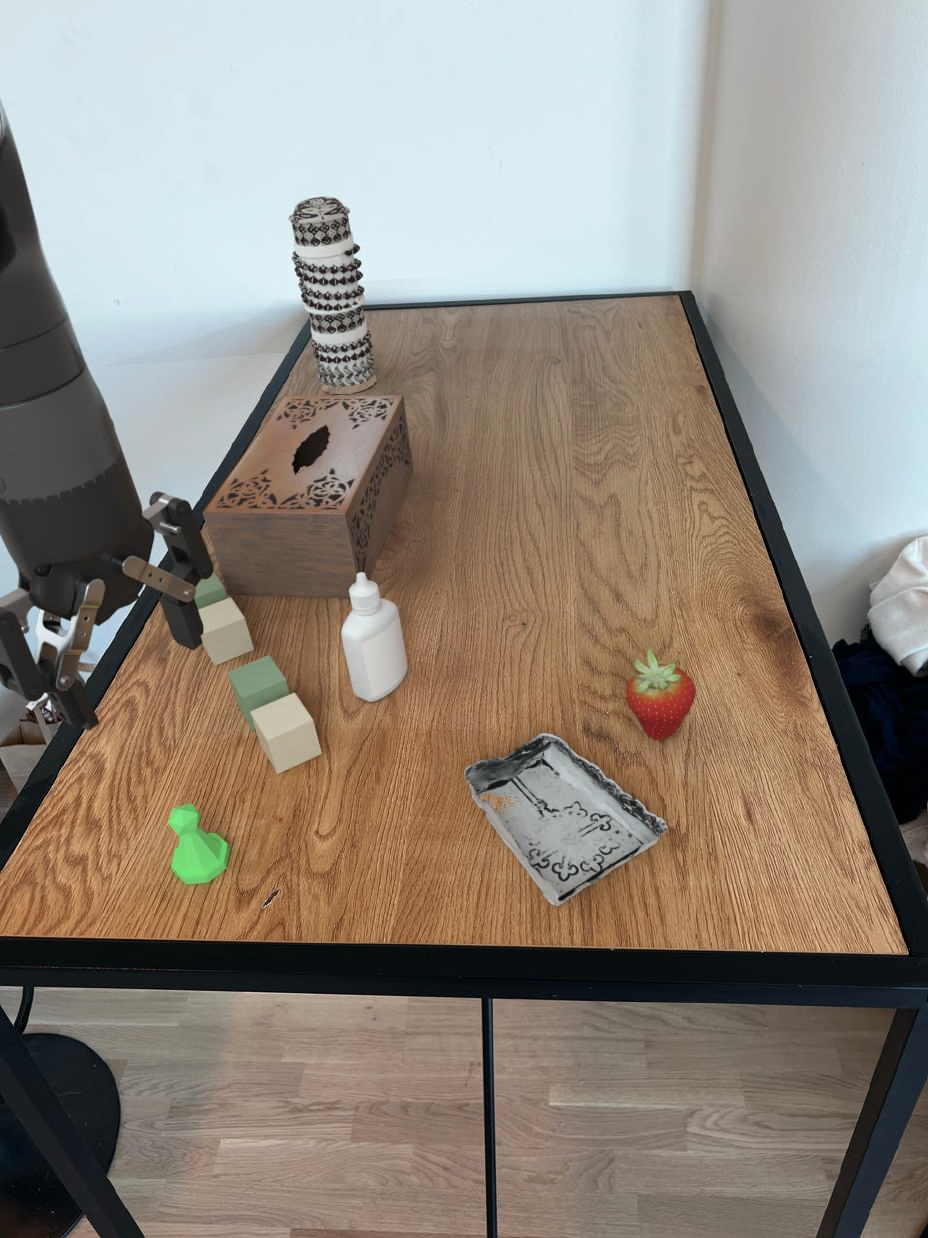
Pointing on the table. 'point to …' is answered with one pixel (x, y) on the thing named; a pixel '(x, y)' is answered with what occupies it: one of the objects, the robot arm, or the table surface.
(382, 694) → the eye dropper bottle
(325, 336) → the black white cylinder
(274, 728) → the block near
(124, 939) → the table surface
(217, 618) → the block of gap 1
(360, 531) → the tissue box cover
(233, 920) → the table surface
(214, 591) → the block far
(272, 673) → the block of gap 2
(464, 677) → the table surface
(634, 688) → the fruit
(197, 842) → the game piece
